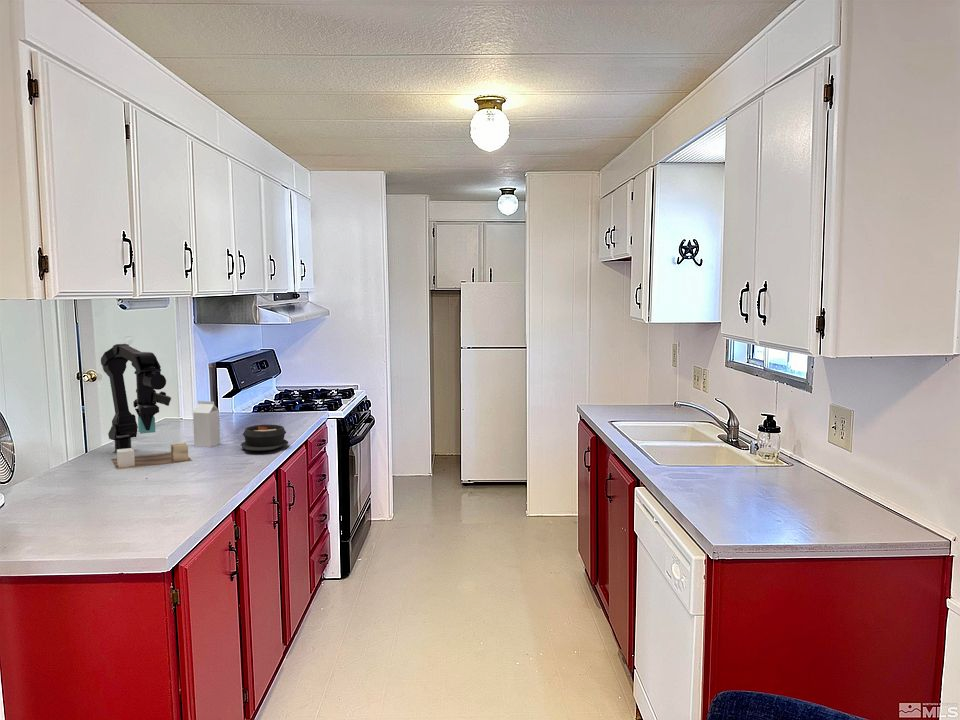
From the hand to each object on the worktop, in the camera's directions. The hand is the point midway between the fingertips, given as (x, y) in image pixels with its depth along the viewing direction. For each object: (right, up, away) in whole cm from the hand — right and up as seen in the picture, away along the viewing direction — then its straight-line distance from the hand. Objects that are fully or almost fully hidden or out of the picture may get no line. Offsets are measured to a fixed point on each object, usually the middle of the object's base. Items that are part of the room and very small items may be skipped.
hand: (146, 429), depth 263 cm
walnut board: (+2, -13, 0) cm, 13 cm away
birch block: (+12, -11, +2) cm, 16 cm away
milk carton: (+12, -10, +26) cm, 31 cm away
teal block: (0, -1, 0) cm, 1 cm away
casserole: (+35, -11, +27) cm, 46 cm away
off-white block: (-4, -12, -8) cm, 15 cm away
